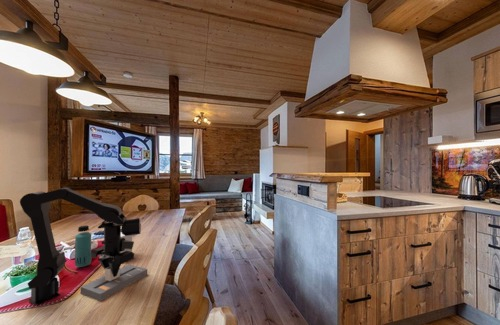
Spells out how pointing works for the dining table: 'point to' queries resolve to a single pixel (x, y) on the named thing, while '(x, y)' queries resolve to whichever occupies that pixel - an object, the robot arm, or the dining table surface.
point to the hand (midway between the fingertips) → (112, 275)
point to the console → (113, 283)
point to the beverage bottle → (83, 247)
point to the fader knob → (110, 274)
